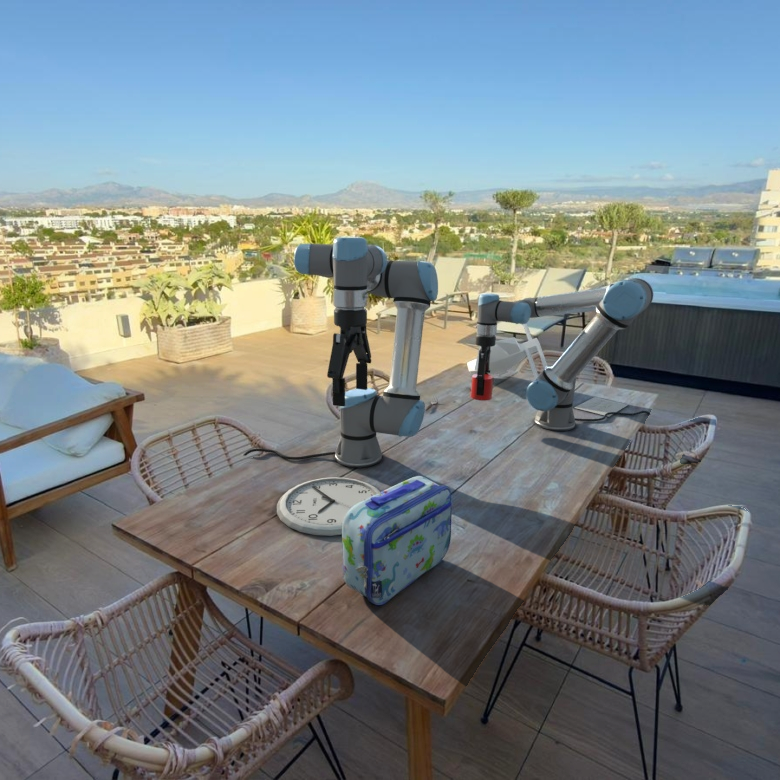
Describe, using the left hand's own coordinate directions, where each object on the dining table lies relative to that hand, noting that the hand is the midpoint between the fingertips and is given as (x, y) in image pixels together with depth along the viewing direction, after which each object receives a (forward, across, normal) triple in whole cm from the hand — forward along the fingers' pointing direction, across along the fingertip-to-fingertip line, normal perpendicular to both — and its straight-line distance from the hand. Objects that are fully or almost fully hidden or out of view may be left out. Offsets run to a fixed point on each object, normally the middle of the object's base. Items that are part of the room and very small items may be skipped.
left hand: (350, 396), depth 125 cm
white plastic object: (+34, +143, -21) cm, 149 cm away
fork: (+34, +96, +4) cm, 102 cm away
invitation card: (+34, +123, -64) cm, 143 cm away
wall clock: (+34, +6, +8) cm, 35 cm away
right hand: (+22, +88, -18) cm, 93 cm away
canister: (+25, +88, -18) cm, 93 cm away
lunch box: (+34, -17, -18) cm, 42 cm away
